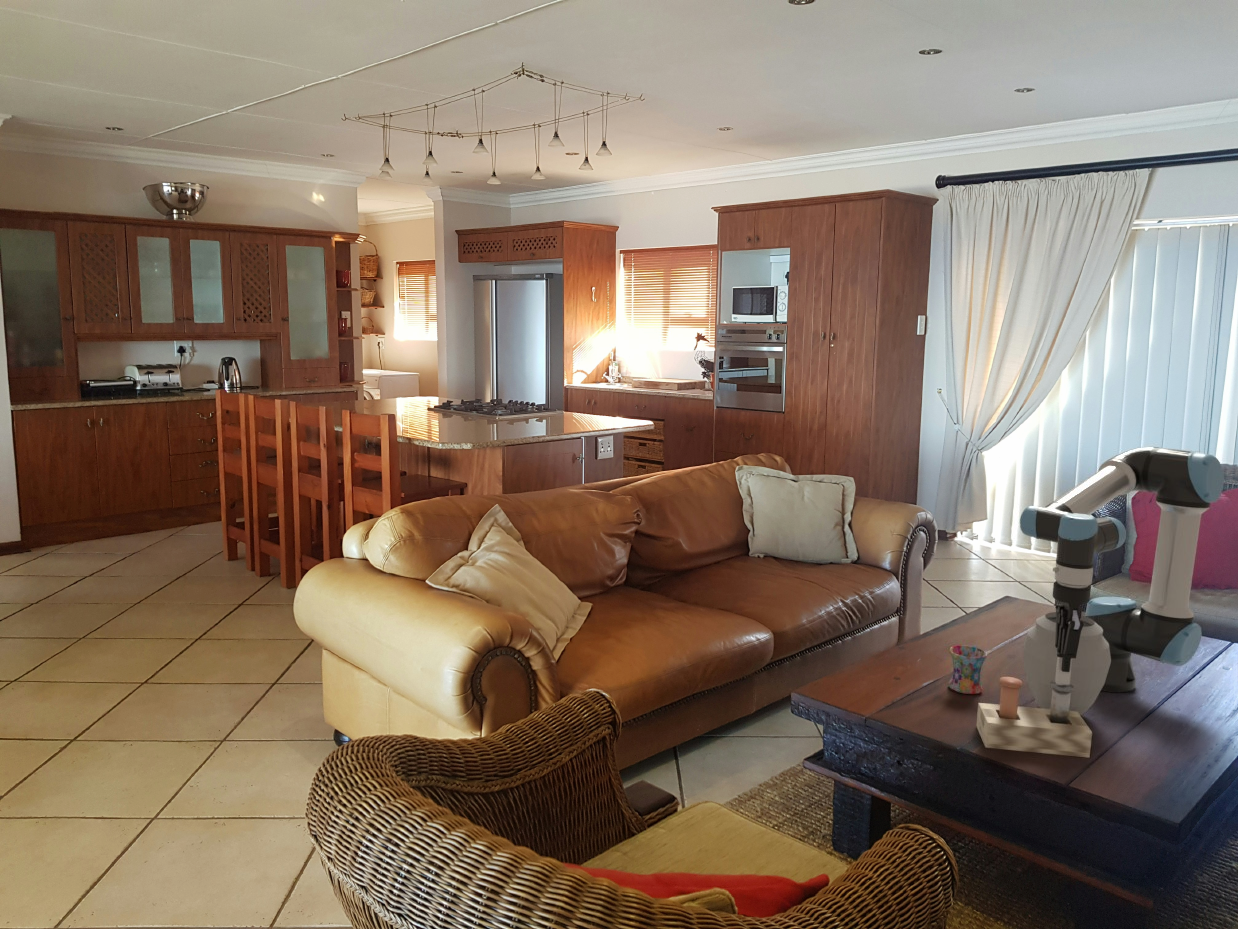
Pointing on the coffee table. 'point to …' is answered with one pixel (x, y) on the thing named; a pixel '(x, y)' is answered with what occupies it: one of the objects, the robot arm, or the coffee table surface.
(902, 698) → the coffee table surface
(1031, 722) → the block
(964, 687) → the mug
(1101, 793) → the coffee table surface
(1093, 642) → the vase
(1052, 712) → the grey plug
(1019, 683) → the terracotta plug
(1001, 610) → the coffee table surface
